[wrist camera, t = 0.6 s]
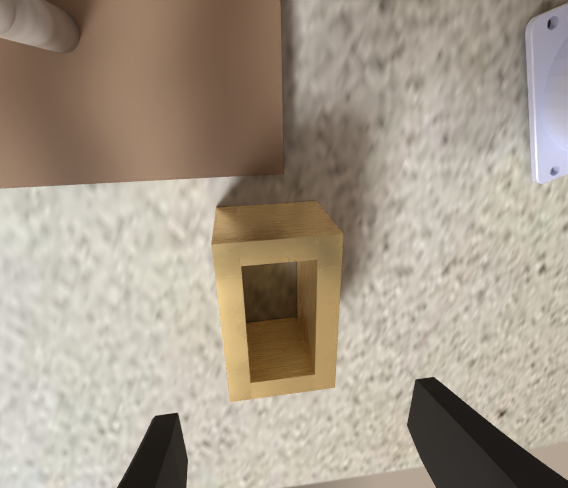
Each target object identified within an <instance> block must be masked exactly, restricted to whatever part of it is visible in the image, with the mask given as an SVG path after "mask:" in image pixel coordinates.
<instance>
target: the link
mask: <svg viewBox="0 0 568 488" xmlns="http://www.w3.org/2000/svg"><path fill="white" fill-rule="evenodd" d="M343 235H344V234H343V233H342V232H341V230H340V229H339V228H338V227H337V226H336V224H335V223H334V222H333V221H332V220H331V218H330V217H329V216H328V215H327V214H326V212H325V211H324V210H323V209H322V207H321V206H320V205H319V204H318V203H317V201H308V202H292V203H276V204H261V205H245V206H229V207H216V211H215V220H214V228H213V237H212V252H213V260H214V269H215V277H216V286H217V294H218V303H219V311H220V320H221V328H222V337H223V345H224V353H225V362H226V370H227V379H228V387H229V396H230V402H234V401H241V400H248V399H255V398H263V397H270V396H277V395H285V394H292V393H299V392H306V391H314V390H321V389H328V388H335V376H336V358H337V341H338V323H339V306H340V288H341V270H342V253H343ZM296 261H297V317H293V318H283V319H274V320H265V321H256V322H246V316H245V304H244V291H243V279H242V267H241V266H249V265H261V264H272V263H284V262H296Z"/></svg>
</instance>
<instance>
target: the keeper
mask: <svg viewBox="0 0 568 488" xmlns="http://www.w3.org/2000/svg"><path fill="white" fill-rule="evenodd" d="M267 174H284V152H283V102H282V52H281V2H280V0H0V188H18V187H38V186H57V185H76V184H95V183H114V182H133V181H153V180H172V179H191V178H210V177H229V176H248V175H267Z"/></svg>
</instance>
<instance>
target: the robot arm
mask: <svg viewBox="0 0 568 488" xmlns="http://www.w3.org/2000/svg"><path fill="white" fill-rule="evenodd" d="M549 19H550V21H551V24H550V27H549V29H548V26H547V24H548V21H549ZM525 40H526V62H527V84H528V106H529V127H530V149H531V171H532V180H533V181H534V182H537V183H541V184H543V183H547V182H549V181H552V180H554V179H556V178H559V177H561V176H564V175H566V174H568V3H566V4H563V5H561V6H558V7H556V8H554V9H551V10H549V11H547V12H544V13H542V14H540V15H537V16H535V17H534V18H532V19H531V20H530V21H529V23H528V24H527V27H526V31H525ZM552 168H553V170H552V172H551V173H550V171H551V169H552ZM407 426H408V429H409V431H410V434H411V436H412V439H413V441H414V444H415V446H416V449H417V451H418V453H419V455H420V458H421V460H422V462H423V464H424V466H425V468H426V469H427V472H428V473H429V475H430V477H431V479H432V481H433V483H434V484H435V486H436V488H568V480H566V479H565V478H563V477H562V476H561V475H559V474H558V473H556V472H555V471H553V470H552V469H551V468H549V467H548V466H546V465H545V464H544V463H542V462H541V461H539V460H538V459H537V458H535V457H534V456H532V455H531V454H530V453H529V452H527V451H526V450H525V449H523V448H522V447H521V446H519V445H518V444H517V443H515V442H514V441H513V440H511V439H510V438H509V437H507V436H506V435H505V434H504V433H502V432H501V431H500V430H498V429H497V428H496V427H495V426H493V425H492V424H491V423H490V422H488V421H487V420H486V419H485V418H483V417H482V416H481V415H480V414H478V413H477V412H476V411H475V410H474V409H472V408H471V407H470V406H469V405H467V404H466V403H465V402H464V401H463V400H461V399H460V398H459V397H458V396H457V395H455V394H454V393H453V392H452V391H450V390H449V389H448V388H447V387H446V386H444V385H443V384H442V383H441V382H439V381H438V380H437V379H436V378H434V377H430V378H423V379H416V380H415V385H414V391H413V396H412V402H411V407H410V412H409V418H408V423H407ZM187 467H188V458H187V453H186V449H185V444H184V439H183V434H182V429H181V425H180V420H179V415H178V413H172V414H165V415H158V416H155V417H154V418H153V419H152V421H151V423H150V426H149V428H148V430H147V432H146V434H145V436H144V438H143V440H142V442H141V444H140V446H139V448H138V450H137V452H136V454H135V456H134V458H133V460H132V461H131V463H130V465H129V467H128V469H127V471H126V473H125V474H124V476H123V478H122V480H121V482H120V483H119V485H118V487H117V488H186V484H187Z"/></svg>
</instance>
